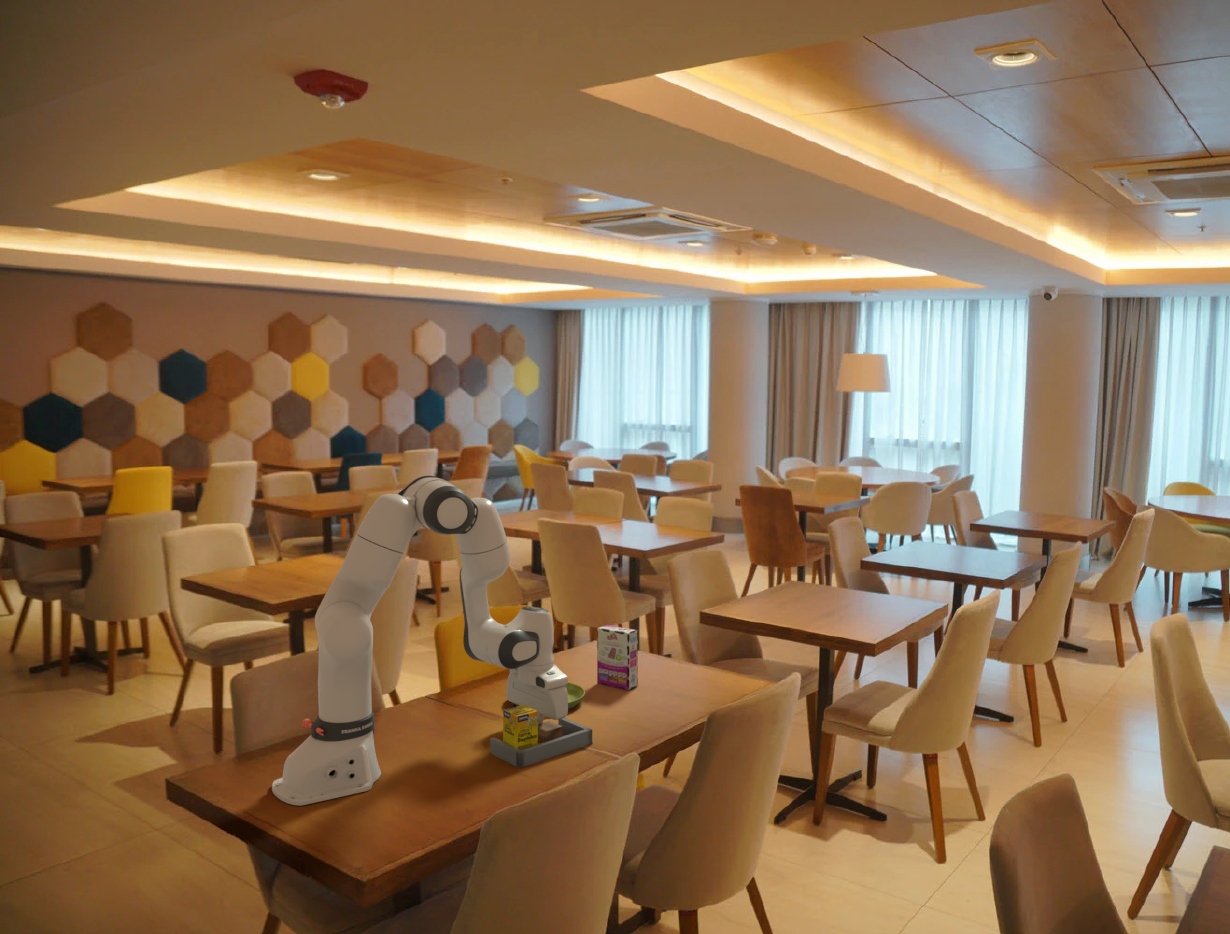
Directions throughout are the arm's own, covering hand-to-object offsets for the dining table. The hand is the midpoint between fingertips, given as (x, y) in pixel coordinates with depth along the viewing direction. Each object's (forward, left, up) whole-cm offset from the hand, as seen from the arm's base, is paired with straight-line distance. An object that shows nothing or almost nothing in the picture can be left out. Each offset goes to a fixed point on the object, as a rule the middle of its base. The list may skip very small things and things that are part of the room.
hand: (536, 727), depth 229 cm
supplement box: (-11, -8, -2) cm, 14 cm away
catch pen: (-5, -8, -2) cm, 9 cm away
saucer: (+16, +16, -2) cm, 23 cm away
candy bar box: (+40, +14, -2) cm, 42 cm away
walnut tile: (0, -4, -2) cm, 4 cm away
